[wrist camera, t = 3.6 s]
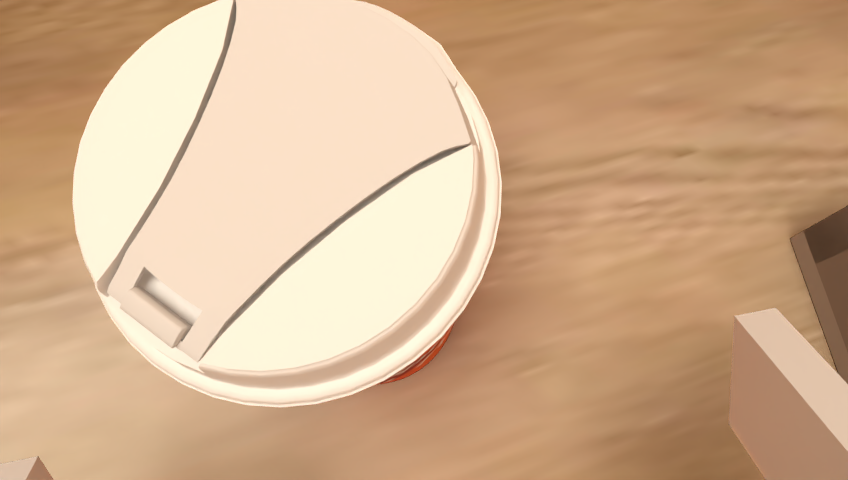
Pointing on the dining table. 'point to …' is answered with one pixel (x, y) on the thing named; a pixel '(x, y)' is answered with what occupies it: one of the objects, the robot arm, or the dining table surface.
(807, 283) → the cup holder
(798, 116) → the dining table surface
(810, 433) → the robot arm
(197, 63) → the paper cup
